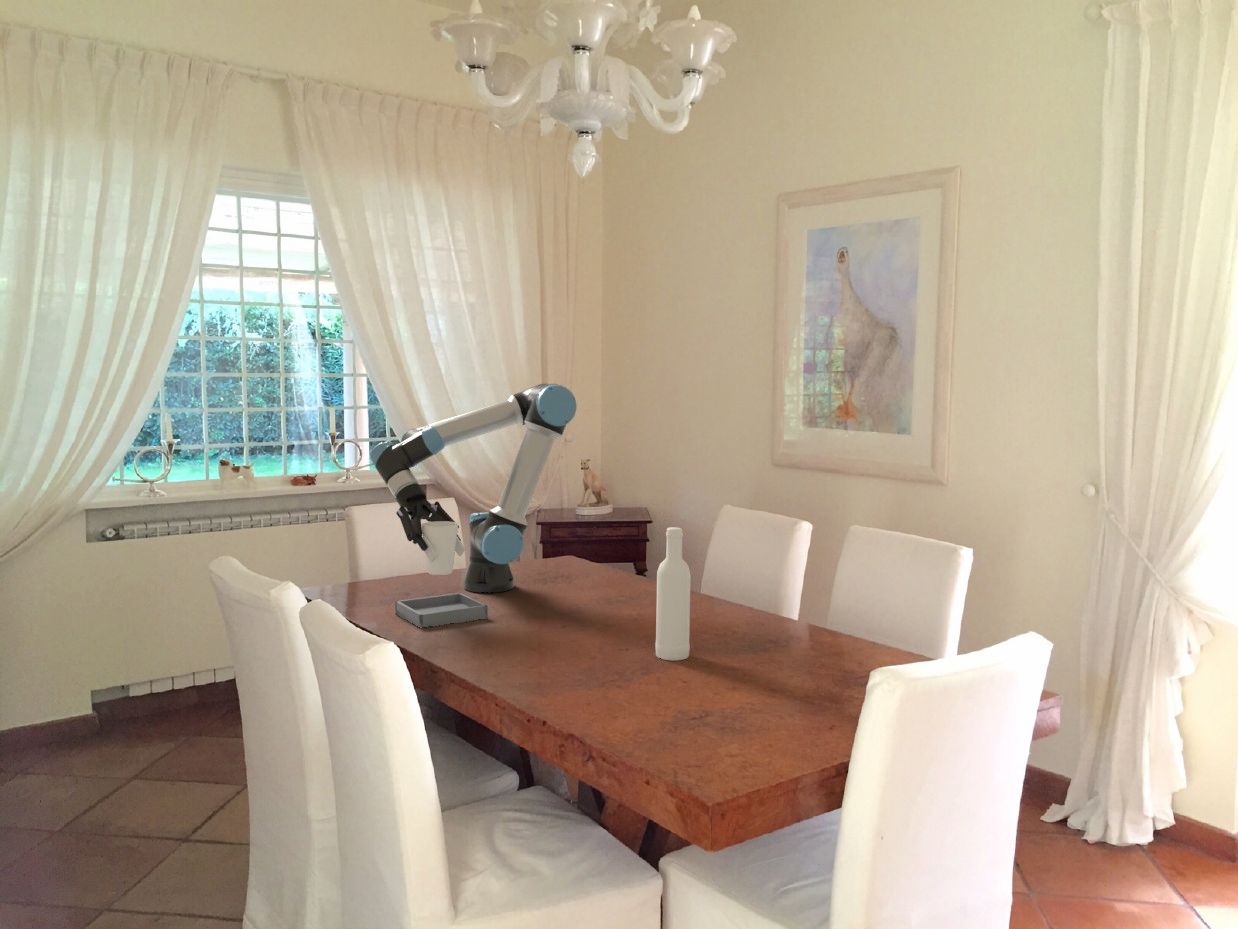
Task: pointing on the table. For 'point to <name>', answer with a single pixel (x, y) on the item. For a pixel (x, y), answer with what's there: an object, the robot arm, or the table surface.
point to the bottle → (673, 601)
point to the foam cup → (441, 545)
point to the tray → (441, 610)
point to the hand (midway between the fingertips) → (448, 555)
